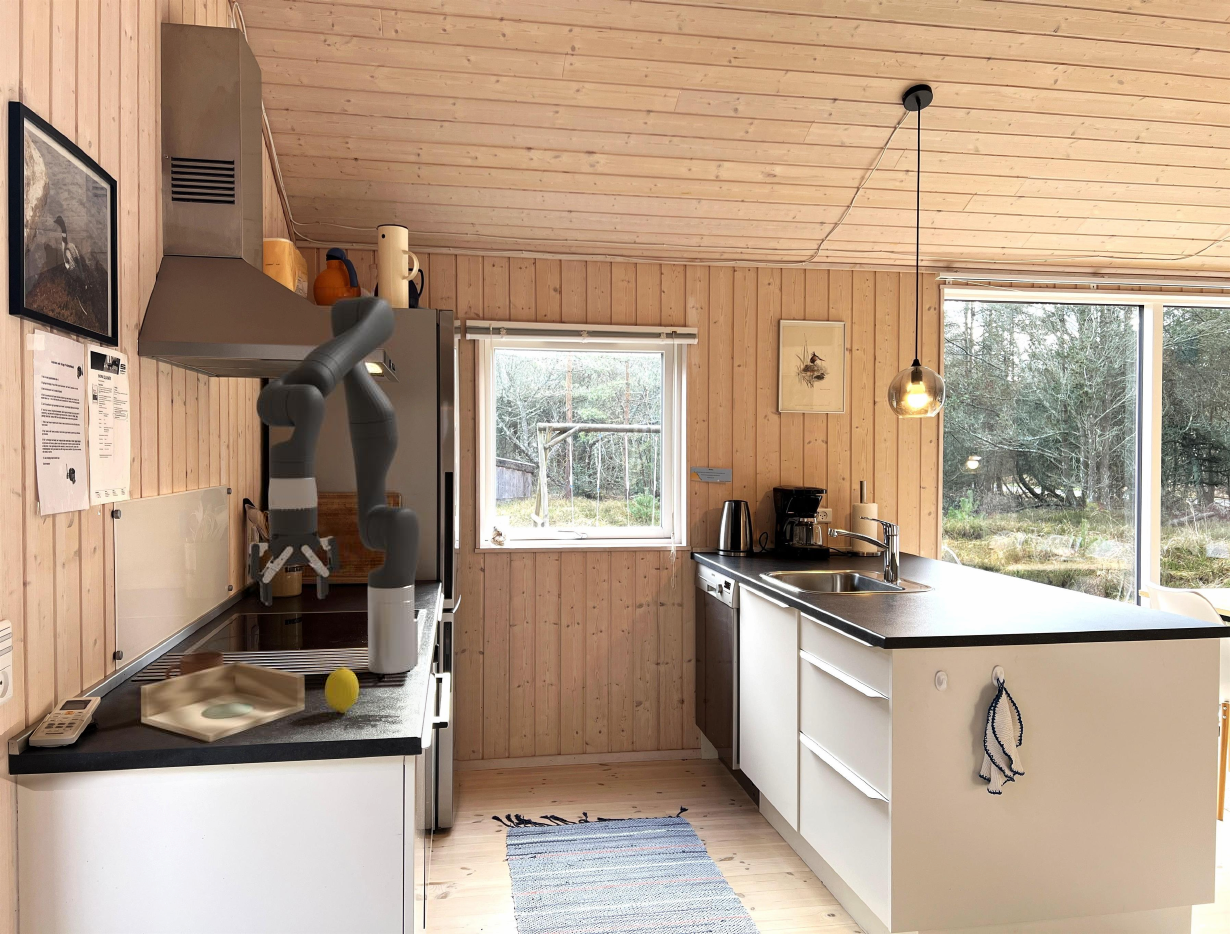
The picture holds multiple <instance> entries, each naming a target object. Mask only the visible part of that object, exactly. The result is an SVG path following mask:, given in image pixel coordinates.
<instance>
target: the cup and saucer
mask: <svg viewBox="0 0 1230 934" xmlns="http://www.w3.org/2000/svg"><path fill="white" fill-rule="evenodd" d="M222 665H224V654H223V653H222V652H219V651H200V652H194V653H188V654H186V655H183V656H180V658H179V664H174V665H172V666H169V667H168V668H167V669H166V671H165V674H164V675H165V680H168V679H171V678H175V677H179V676H183V675H187V674H191V673H195V672H199V671H202V670H206V669H210V668H214V667H218V666H222ZM172 670H179V675H176V676H173V677H171V676H170V672H171V671H172Z"/></svg>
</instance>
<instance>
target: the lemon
mask: <svg viewBox="0 0 1230 934" xmlns="http://www.w3.org/2000/svg"><path fill="white" fill-rule="evenodd" d="M359 687H360V685H359V681H358V678H357V676H356V674H355V672H353V671H352V670H351V669H348V668H346V667H345V666H340V667H338V669H336V670H334V671H333V672H331V673H330V674H329V675H328V677H327V680H326V682H325V687H324V695H325V701H326V702H327V705H328V706H329V707H331V708H332V710H333V709H334V710H337V711H338V712H339V714H344V713H345V712H346V711H347V710H349V709H350V708H351V707H353V706H354V704H356V702H357V700H358V697H359V691H360V690H359V689H360V688H359Z"/></svg>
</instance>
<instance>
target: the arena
mask: <svg viewBox="0 0 1230 934" xmlns="http://www.w3.org/2000/svg"><path fill="white" fill-rule="evenodd" d="M174 677H175V676H174ZM305 692H306V691H305V675H304V674H299V673H295V672H290V671H285V670H282V669H281V670H280V669H276V668H270V667H266V666H260V665H255V664H252V663H246V662H241V661H233V662H230V663H227V664H223V665H222V666H218V667H214V668H210V669H206V670H202V671H199V672H195V673H191V674H187V675H183V676H179V677H175V678H173V677H171V679H168V680H167V679H164V680H161V681H157V682H152V683H149V684H145V685H141V686H140V709H141V710H140V715H141V718H140V720H141V723H143V724H147V725H148V726H149V725H150V726H153V727H156V728H160V729H163V730H168V731H170V732H174V733H178V734H182V735H185V736H189V737H192V738H195V739H199V740H203V741H205V742H214V741H217V740H219V739H222V738H225V737H228V736H232V735H235V734H237V733H240V732H242V731H246V730H249V729H252V728H255V727H257V726H261V725H263V724H267V723H269V722H272V721H275V720H278V719H281V718H284V717H287V716H290V715H293V714H295V713H299V712H301V711H304V710H305V707H306V705H305V694H306V693H305Z"/></svg>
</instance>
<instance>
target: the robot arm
mask: <svg viewBox="0 0 1230 934" xmlns="http://www.w3.org/2000/svg"><path fill="white" fill-rule="evenodd" d="M395 321H396V320H395V314H394V310H393V308H392V305H391V304H390V303H389V301H387V300H386V298H383V297H380V296H374V295H373V296H372V295H371V296H359V297H351V298H350V297H347V298H341V299H337V300H336V301H335V302H333V304H332V306H331V309H330V326H331V333H332V337H333V338H332V339H330V340H327V341H325V342H324V343H322V344H319V345H318V346H316V347H315V348H314V349H313V350H311V351H310V352H309V353H308V354H307V355H306V356H305V357H304V359H302V360H301V361H300V362H299V364H298V365H297V366H296V367H295V368H293V369H292V370H289V371H286V372H285V373H284V374H282V375H280V376H278V377H277V378H275V379H273V380H272V381H270V382H268V384H266V385H265V386H264V387H263V388H262V389H261V391H260V392H259V395H258V397H257V400H256V413H257V416H258V417H259V420H261V421H262V423H264V424H265V425H267V426H270V427H273V428H294V429H293V431H292V434H291V436H290V438H289V439H287V440H284V441H280V442H276V443H274V444H272V445H271V446H270V448H269V453H268V454H269V459H268V460H269V486H268V527H269V528H268V531H269V532H268V533H269V536H268V540H267V542H255V541H251V542H249V544H248V548H247V550H248V551H247V554H248V555H247V572H246V573H247V577H248V579H250V580H252V581H256V582H259V584H260V588H259V589H260V600H261V602H263V603H264V605H265V606H272V605H273V587H272V586H273V585H272V584H273V583H272V582H271V580H272V579H273V577H274V576H275V575H276V573H277V572H279V571H280V569H281V568H282V567H283V566H284V567H286V568H288V567H293V566H296V565H297V566H306V565H307V564H309V565H310V567H312V568H313V569H314V570H315V571H316V573H317V574H318V575H316V589H317V590H316V595H317V596H316V597H317V598H318V599H319V600H323V599H324V600H325V599H326V596H328V594H329V576H331V574H334V573H337V572H339V571H340V555H339V544H338V538H336V537H334V536H331V535H328V536H327V537H322V538H320V537H319V531H318V529H319V528H318V527H319V526H318V502H319V501H318V500H319V498H318V489H317V484H316V478H315V477H316V471H315V469H316V468H315V466H316V464H315V462H316V461H315V460H316V459H315V454H316V449H317V444H318V441H319V436H320V431H321V428H322V425H323V421H324V418H325V411H326V405H325V404H326V403H325V398H327V397H328V396H329V395H330V394H331V393H332V391H334V389H335V388H336V387H337V386H338V384H339V383H340V382H341V380H342V382H343V389H344V391H343V392H344V398H345V403H346V404H345V405H346V411H347V414H346V415H347V421H348V422H347V423H348V431H349V436H350V437H349V438H350V443H351V449H352V454H353V456H352V457H353V462H354V464H353V465H354V472H355V481H356V482H355V483H356V503H357V526H358V534H359V537H360V540H361V542H362V544H363V545H364V546H365V548H367V549H368V550H371V551H377V552H385V555H384V561H383V562H384V563H383V564H382V565H381V566H380V567H378V568H374V569H372V570H370V571H369V572H368V575H367V619H368V620H367V635H368V636H367V640H368V641H367V646H368V648H367V649H368V650H367V652H368V653H367V655H368V656H367V659H368V661H367V665H368V666H367V669H369V670H368V671H369V672H372V673H375V674H376V673H377V674H397V673H398V674H399V673H403V672H407V671H410V670H413V669H414V668H415V666H417V665H418V664H419V636H418V635H419V627H418V625H419V623H418V622H419V621H418V619H417V618H415V578H416V577H415V576H416V573H417V570H418V565H419V548H420V547H419V545H420V524H419V520H418V516H417V515H416V513H415V512H414V511H413V510H412V509H410V508H408V507H402V506H389V504H388V500H387V492H386V491H387V490H386V488H387V487H386V485H387V484H386V481H387V476H388V472H389V470H390V467H391V466H392V463H393V460H394V458H395V455H396V452H397V449H398V445H399V433H398V431H399V430H398V426H397V425H398V424H397V423H398V422H397V416H396V411H395V408H394V406H393V404H392V402H391V400H390V399H389V397H388V396H387V395H386V393H385V392H384V391H383V390H382V388H381V387H380V385H378V383H377V382H376V381H375V379H374V378H373V377H372V375H371V373H370V371H369V370H368V367H367V365H366V362H365V358H366V357H368V355H370V354H371V353H373V352H374V351H375V350H376V349H378V348H380V347H381V346H382V345H384V344H385V343H386V342H387V341H389V340H390V338H392V335H393V333H394V331H395V325H396V324H395ZM321 546H322V548H323V549H324V550H326V555H327V565H326V566H325V565H324V564H323V562H322V561H321V560H320V559H319V558H318V556H317V555H316V553H317V551H318V550H319V549H320V547H321ZM266 550H267V551H268V552H269V553H270V555H272V557H271V558H270V559H269V561H268V562H267V563H266V566H265V568H264V569H263V570H262V572H260V557H262V556H263V555H264V552H265V551H266Z"/></svg>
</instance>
